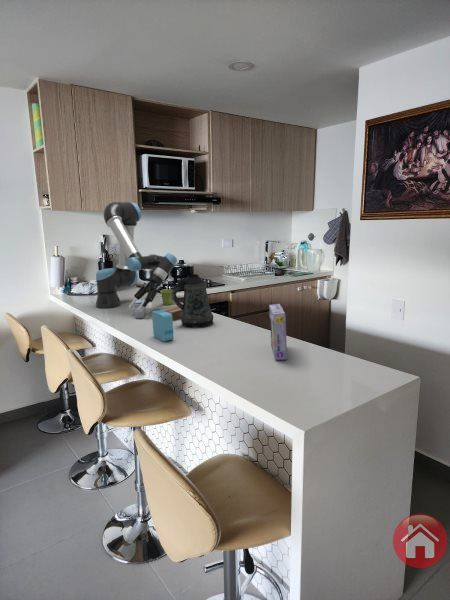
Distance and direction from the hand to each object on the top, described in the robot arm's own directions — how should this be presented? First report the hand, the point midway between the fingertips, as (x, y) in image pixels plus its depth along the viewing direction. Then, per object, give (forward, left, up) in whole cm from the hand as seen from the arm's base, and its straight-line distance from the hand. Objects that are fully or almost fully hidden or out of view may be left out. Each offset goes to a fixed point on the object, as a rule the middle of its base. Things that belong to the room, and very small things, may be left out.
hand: (134, 309), depth 213 cm
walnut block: (+15, +15, -5) cm, 22 cm away
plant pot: (-17, +33, -5) cm, 38 cm away
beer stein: (+36, +13, -5) cm, 39 cm away
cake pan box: (+94, +8, -5) cm, 95 cm away
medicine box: (0, +3, -5) cm, 6 cm away
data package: (+44, -11, -5) cm, 46 cm away
